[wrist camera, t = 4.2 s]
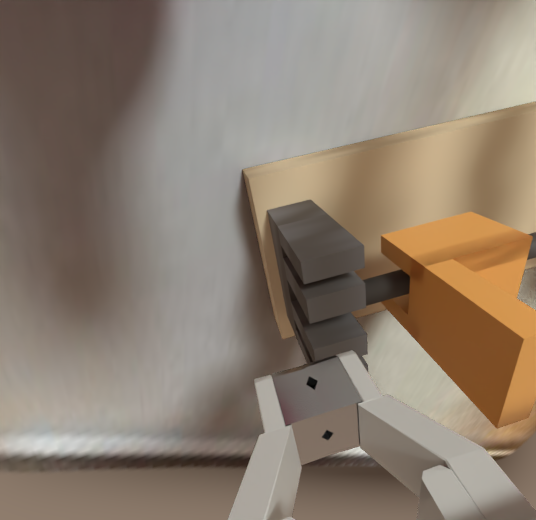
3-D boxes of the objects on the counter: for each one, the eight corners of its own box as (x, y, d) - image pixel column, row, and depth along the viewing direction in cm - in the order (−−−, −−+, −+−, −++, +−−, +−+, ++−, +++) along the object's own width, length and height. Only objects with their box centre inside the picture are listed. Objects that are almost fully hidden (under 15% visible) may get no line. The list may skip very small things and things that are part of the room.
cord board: (673, 69, 17) (980, 49, 10) (613, 222, 21) (800, 276, 14) (242, 169, 14) (280, 225, 8) (274, 317, 19) (316, 432, 12)
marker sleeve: (471, 211, 13) (672, 292, 7) (460, 279, 14) (619, 386, 9) (380, 235, 12) (524, 339, 7) (380, 302, 14) (496, 428, 9)
